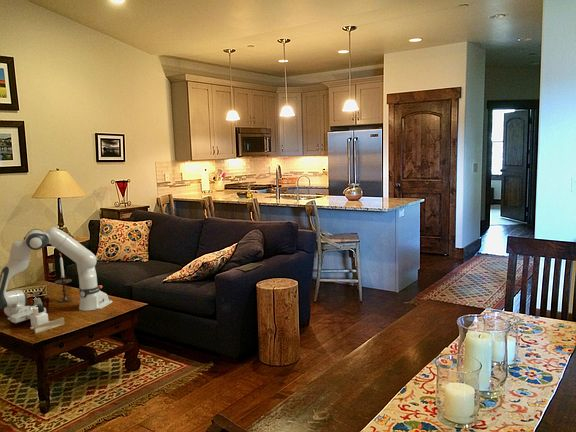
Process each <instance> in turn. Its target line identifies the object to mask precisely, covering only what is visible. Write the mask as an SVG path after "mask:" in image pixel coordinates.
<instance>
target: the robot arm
mask: <svg viewBox="0 0 576 432" xmlns="http://www.w3.org/2000/svg"><path fill="white" fill-rule="evenodd" d="M48 245H51V246H52V247H54V248H55V249H57V250H58V251H59V252H61V253H62V254H64V255H65V256H66V257H68V258H69V259H70V260H71V261H72V262H74V263H75V264H76V269H77V274H78V282H79V283H78V285H79V289H78V292H79V304H78V310H79V311H82V312H83V311H87V312H88V311H94V310H101V309H103V308H104V307H106V306H108V305H110V304H112V303H113V300H111V299H109V296H108V294H107V293H106V292H104V291H101V289H102V288H103V285H98V277H97V271H96V265H97V256H96V255H95V254H94V253H93V252H92V251H91V250H89V249H88V248H86V247H85V246H84V245H82V244H81V243H80V242H79V241H78V240H76V239H75V238H74V237H72V236H70V235H69V234H67V233H66V232H65V231H64V230H61V229H60V228H58V227H55V226H53V227H50V228H48V229H47V230H45V231H43V230H42V229H40V228H33V229H31V230H29V231H28V232H27V234H26V235H25V236H24V237H23V240H22V239H21V240H16V241H15V240H14V242H13V243H12V244H11V247H10V249H9V257H8V258H9V259H8V261H7V264H6V265H5V266H4V267H3V268H2V270H1V272H0V310H2V309H3V312H4V314H5V315H6V316H7V320H8V321H10V322H11V323H14V324H18V323H21V322H24V321H27V320H31V319H30V315H33V307H35V306H37V305H34V304H32V305H27V301H28V300H27V297H28V295H27V293H26V292H25V291H24V290H23V289H15V290H9V291H7V290H8V285H9V282H10V279H12V278H13V277H14V276H16V275H19V274H20V273H23V272H24V271H26V269H27V268H28V267H29V264H30V257H31V255H30V254H31V251H32V250H33V251H38V250H41V249H43V248H44V247H46V246H48ZM44 313H47V308H46V307H44Z"/></svg>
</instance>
